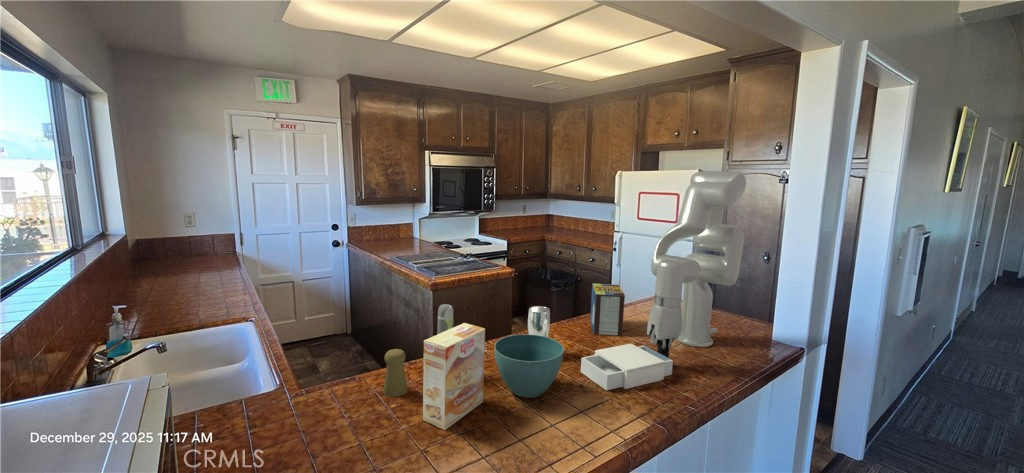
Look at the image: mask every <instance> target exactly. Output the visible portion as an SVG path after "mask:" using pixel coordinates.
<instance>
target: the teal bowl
mask: <svg viewBox="0 0 1024 473" xmlns="http://www.w3.org/2000/svg"><path fill="white" fill-rule="evenodd" d="M493 349H494V358H495V363H496V365H497V370H498V372H499V374H500V377H501V379H502V380H503V382H504V383H505V385H506V387H508V388H509V390H510V391H511V392H512V393H513V394H514V395H515V396H518V397H519V398H520V397H521V398H525V399H533V398H537V397H539V396H542V395H543V394H544V393H545V392H546V391H547V390H548V389H549V388H550V386H551V385H552V384H553V383H554V381H555V379H556V377H557V376H558V374H559V372H560V369H561V365H562V362H563V358H564V353H565V352H564V351H565V350H564V346H563V345H562V343H561V342H559V341H557V340H556V339H554V338H551V337H549V336H547V337H545V336H540V335H531V334H529V333H528V334H527V333H524V334H511V335H509V336H505V337H501V338H500V339H498V340H497V341H495V343H494V348H493Z"/></svg>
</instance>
